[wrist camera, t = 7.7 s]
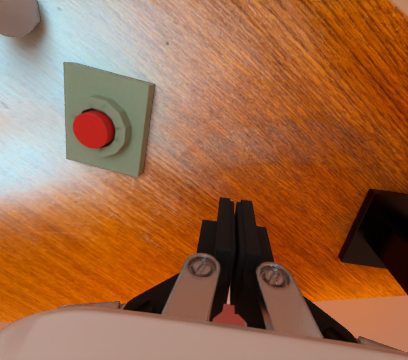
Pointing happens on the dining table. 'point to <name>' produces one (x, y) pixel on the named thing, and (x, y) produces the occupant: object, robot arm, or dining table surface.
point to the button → (93, 129)
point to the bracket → (380, 235)
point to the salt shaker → (18, 17)
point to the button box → (116, 111)
